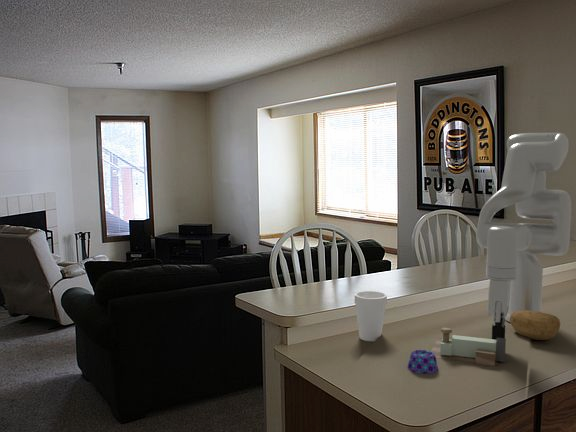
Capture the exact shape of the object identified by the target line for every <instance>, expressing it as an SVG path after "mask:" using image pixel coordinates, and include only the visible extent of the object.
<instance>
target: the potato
mask: <svg viewBox="0 0 576 432" xmlns="http://www.w3.org/2000/svg"><path fill="white" fill-rule="evenodd" d="M509 323H510V325H511V326H512V328H513V329H514V331H515V333H517V334H519V335H521V336H523V337H527V338H529V339H531V340H536V341H546V340H547V341H548V340H550V339H552V338H553V337H555V336H556V335H557V333H559V331H560V328H561V320H560V318H559V317H557V316H556V315H553V314H550V313H546V312H542V311H541V312H539V311H526V310H520V311H516V312H514V313H513V314H511V316H510V322H509Z"/></svg>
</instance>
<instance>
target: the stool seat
mask: <svg viewBox="0 0 576 432" xmlns="http://www.w3.org/2000/svg"><path fill="white" fill-rule="evenodd" d="M440 333H442V338H441V337H437V339H436V341H435V343H434V345H433V347H432V349H431V350H430V352H432V353H433V354H434V355H435V357H436V359H442V360H451V361H455V362H456V361H457V362H463V363H464V362H465V363H470V364H478V365H485V366H491V367H492V366H493V367H497V365H498V362H499V361H496V360H495V351H488V350H480V349H477V350H476V358H471V357H463V356H455V355H451V356H449V355H440V344H441V342H442V339H443V343H449V339H450V334H451V333H453V330H452V328H449V327H442V328H440ZM451 339H452V338H451ZM451 339H450V340H451Z"/></svg>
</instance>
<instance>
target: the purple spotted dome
mask: <svg viewBox="0 0 576 432" xmlns="http://www.w3.org/2000/svg"><path fill="white" fill-rule="evenodd" d="M407 370H410V371H411V372H413V373H417V374H419V373H420V374H423V375H424V374H425V375H426V374H427V375H428V374H434V373H436V372H437V371H438V370H439V366H438V361H437V358H436V357H435V355H434V354H433V353H432V352H431V350H430V351H429V350H427V349H416V350H413V351H411V353H410V356H409V359H408V363H407Z"/></svg>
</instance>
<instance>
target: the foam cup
mask: <svg viewBox="0 0 576 432" xmlns="http://www.w3.org/2000/svg"><path fill="white" fill-rule="evenodd" d="M387 297H388V294H387V293H385V292H382V291H376V290H363V291H362V290H361V291H357V292H355V293H354V304H355V312H356V319H357V320H356V321H357V329H358V335H359V339H360V340H363V341H366V342H376V341H377V340H378V338H379V337H381V336H382V333H383V327H384V320H385V315H386V312H385V311H386V306H387V303H388V298H387Z"/></svg>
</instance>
